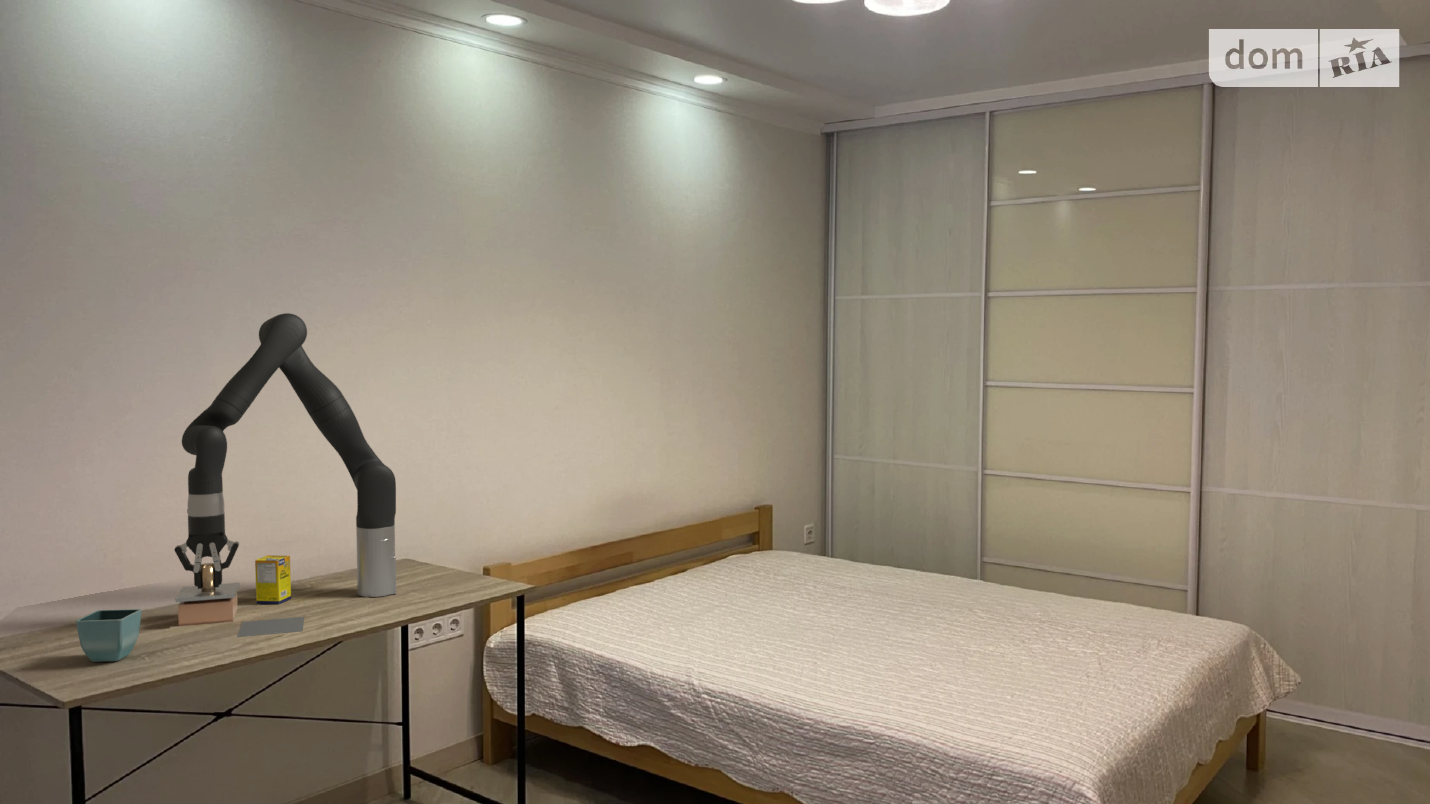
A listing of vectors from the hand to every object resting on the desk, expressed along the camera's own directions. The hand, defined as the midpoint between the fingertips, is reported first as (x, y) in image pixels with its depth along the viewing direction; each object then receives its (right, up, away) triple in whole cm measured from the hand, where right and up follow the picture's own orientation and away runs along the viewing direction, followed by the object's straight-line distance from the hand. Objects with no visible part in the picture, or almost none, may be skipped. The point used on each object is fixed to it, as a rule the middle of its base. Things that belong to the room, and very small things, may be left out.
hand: (208, 587), depth 235 cm
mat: (+18, -8, -7) cm, 20 cm away
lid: (0, -2, 0) cm, 2 cm away
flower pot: (-5, -9, -29) cm, 31 cm away
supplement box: (+8, -7, +17) cm, 20 cm away
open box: (0, -7, 0) cm, 8 cm away
